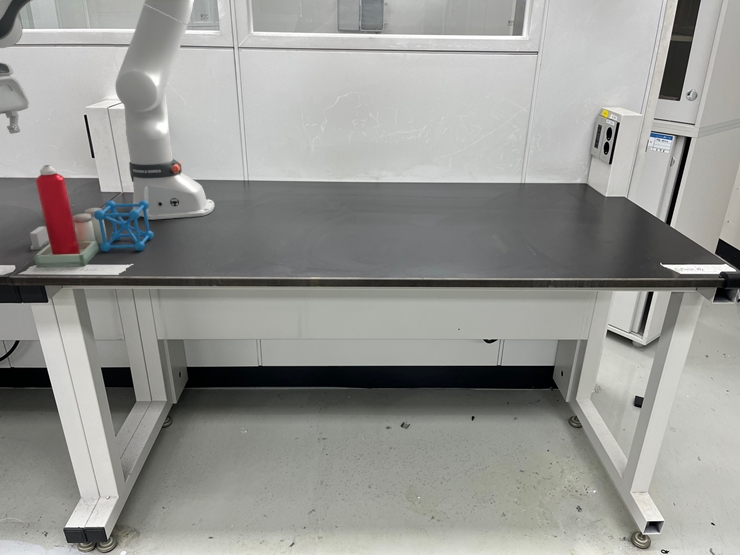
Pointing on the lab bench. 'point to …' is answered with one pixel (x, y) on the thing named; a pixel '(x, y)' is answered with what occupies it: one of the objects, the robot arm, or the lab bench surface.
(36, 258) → the assorted small pieces
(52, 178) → the bottle
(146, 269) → the lab bench surface
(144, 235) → the molecular structure
